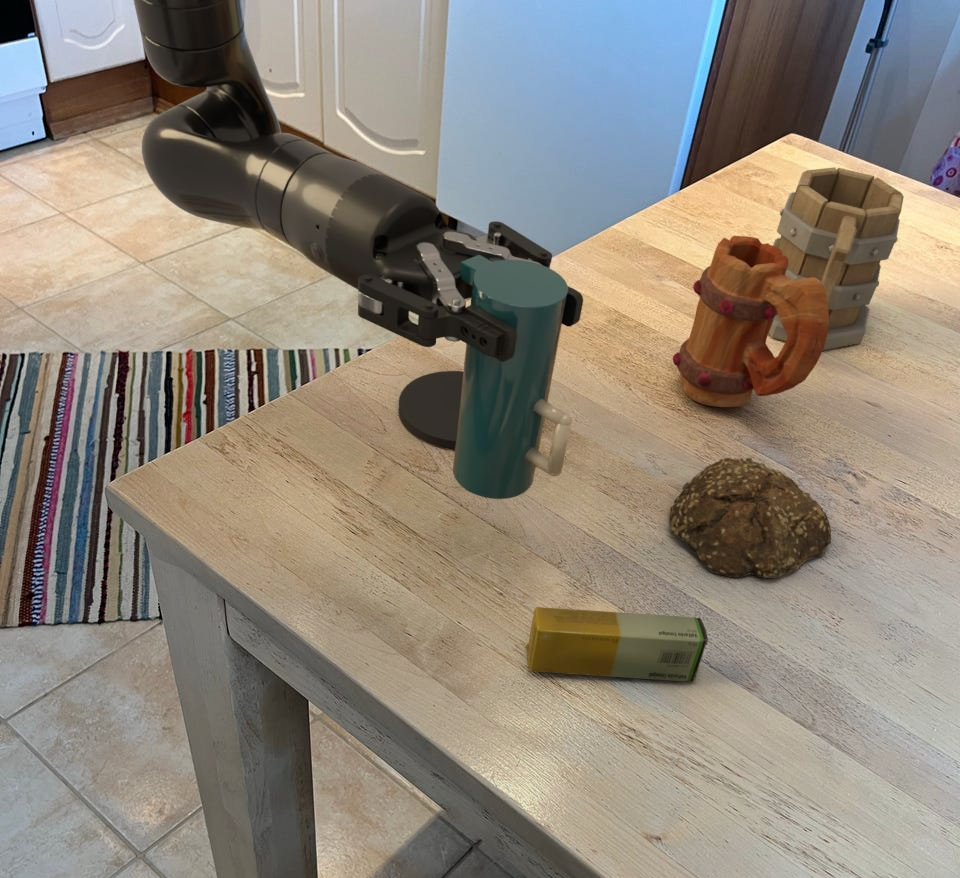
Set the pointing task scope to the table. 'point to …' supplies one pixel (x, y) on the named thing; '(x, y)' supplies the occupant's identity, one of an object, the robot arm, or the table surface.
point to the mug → (750, 326)
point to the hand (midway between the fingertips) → (545, 328)
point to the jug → (511, 381)
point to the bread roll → (749, 520)
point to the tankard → (839, 244)
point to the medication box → (616, 644)
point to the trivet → (432, 407)
